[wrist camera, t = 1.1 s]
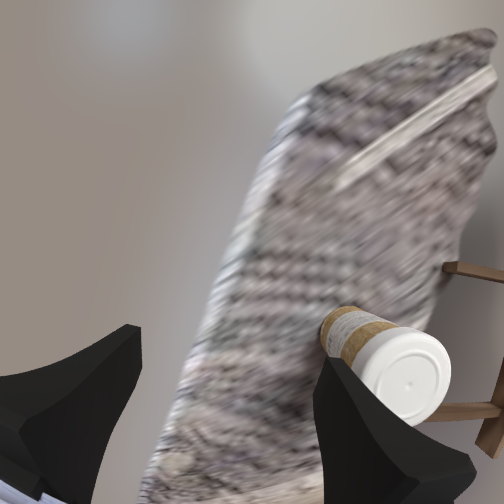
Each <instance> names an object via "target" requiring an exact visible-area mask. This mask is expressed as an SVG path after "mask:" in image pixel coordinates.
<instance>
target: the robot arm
mask: <svg viewBox="0 0 504 504" xmlns="http://www.w3.org/2000/svg"><path fill="white" fill-rule="evenodd" d="M141 370H142V349H141V327H138V326H133V325H129V324H126V325H124V326H122V327H120V328H119V329H117V330H116V331H114V332H112V333H111V334H109V335H107V336H106V337H104V338H103V339H101V340H99V341H98V342H96V343H94V344H93V345H91V346H89V347H87V348H85V349H83V350H81V351H79V352H78V353H76V354H74V355H72V356H70V357H68V358H65V359H63V360H61V361H58V362H56V363H53V364H51V365H48V366H45V367H42V368H38V369H35V370H31V371H28V372H24V373H19V374H14V375H8V376H1V377H0V504H91V500H92V495H93V491H94V487H95V483H96V479H97V475H98V472H99V468H100V465H101V462H102V459H103V455H104V452H105V450H106V447H107V444H108V441H109V438H110V436H111V433H112V431H113V429H114V427H115V425H116V423H117V421H118V419H119V417H120V415H121V414H122V412H123V410H124V408H125V406H126V404H127V402H128V400H129V398H130V396H131V394H132V392H133V390H134V389H135V386H136V383H137V381H138V378H139V375H140V372H141ZM313 410H314V420H315V425H316V431H317V436H318V441H319V447H320V452H321V458H322V464H323V477H324V504H454V502H453V501H454V500H455V499H456V498H457V497H458V496H459V495H460V494H461V493H463V491H465V490H466V489H467V488H468V487H469V486H470V485H471V483H472V482H473V481H474V479H475V477H476V474H477V471H476V469H475V467H474V465H473V463H472V461H471V459H470V457H469V455H468V454H465V453H463V452H460V451H458V450H455V449H452V448H450V447H447V446H445V445H443V444H441V443H439V442H437V441H435V440H433V439H431V438H429V437H428V436H426V435H424V434H422V433H420V432H419V431H418V430H416V429H415V428H413V427H412V426H410V425H409V424H407V423H406V422H405V421H403V420H402V419H401V418H399V417H398V416H397V415H396V414H394V413H393V412H392V411H391V410H390V409H389V408H387V407H386V406H385V405H384V404H383V403H382V402H381V401H380V400H379V399H378V398H377V397H376V396H375V395H374V394H373V393H372V392H371V391H370V390H369V389H368V388H367V386H366V385H365V384H364V383H363V382H362V381H361V380H360V379H359V377H358V376H357V375H356V374H355V373H354V372H353V370H352V369H351V368H350V367H349V366H348V365H347V364H346V362H345V361H344V360H343V359H342V358H336V357H326V360H325V363H324V365H323V368H322V371H321V374H320V377H319V379H318V382H317V385H316V387H315V390H314V393H313Z"/></svg>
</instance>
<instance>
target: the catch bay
mask: <svg viewBox="0 0 504 504" xmlns="http://www.w3.org/2000/svg"><path fill="white" fill-rule="evenodd" d="M443 272H448V273H453V274H458V275H464V276H469V277H474V278H479V279H484V280H489V281H494V282H500V283H504V271H501V270H496V269H492V268H487V267H483V266H478V265H473V264H469V263H464V262H459V261H455V262H444V266H443ZM483 418H485V419H484V422H483V424H482V427H481V429H480V432H479V434H478V437H477V439H476V441H475V444H476V445H477V446H478V447H479V448H480V449H481V450H483V451H484V452H485V453H486V454H487V455H489V456H490V457H491V458H492V459H495V458H498V456H499V454H500V452H501V450H502V448H503V446H504V358H503V362H502V366H501V370H500V373H499V377H498V380H497V383H496V387H495V390H494V393H493V396H492V399H491V402H476V403H446V404H445V403H443V404H440V405H439V406H438V408H437V409H436V410H435V411H434V412H433V413H432V414H431V415H430V416H429V417H428V418H427V419H425V420H424V421H422V422H436V421H458V420H472V419H483Z"/></svg>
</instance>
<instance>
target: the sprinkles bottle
mask: <svg viewBox="0 0 504 504" xmlns="http://www.w3.org/2000/svg"><path fill="white" fill-rule="evenodd" d="M320 337H321V338H320V339H321V344H322V346H323V348H324V350H325V351H326V352H327V353H328V355H329V357H336V358H342V359H343V360H344V361H345V362H346V364H347V365H348V366H349V367H350V368H351V369H352V370H353V372H354V373H355V374H356V375H357V376H358V377H359V379H360V380H361V381H362V382H363V383H364V384H365V385H366V386H367V388H368V389H369V390H370V391H371V392H372V393H373V394H374V395H375V396H376V397H377V398H378V399H379V400H380V401H381V402H382V403H383V404H384V405H385V406H386V407H387V408H389V409H390V410H391V411H392V412H393V413H394V414H396V415H397V416H398V417H399V418H401V419H402V420H403V421H405V422H406V423H407V424H409V425H410V426H412V427H413V426H415V425H417V424H419V423H421V422H422V421H424V420H425V419H427V418H428V417H429V416H430V415H431V414H432V413H433V412H434V411H435V410H436V409H437V408H438V406H439V405H440V404H441V402H442V400H443V399H444V397H445V395H446V393H447V390H448V387H449V383H450V377H451V365H450V360H449V357H448V354H447V352H446V350H445V348H444V347H443V346H442V344H441V343H440V342H439V341H438V340H436V339H435V338H433V337H431V336H429V335H428V334H426V333H423V332H421V331H418V330H416V329H413V328H408V327H399V326H398V325H396V324H394V323H392V322H389V321H387V320H385V319H382V318H380V317H378V316H375V315H373V314H370V313H367V312H365V311H363V310H362V309H359V308H357V307H354V306H344V307H340V308H338V309H336V310H334V311H332V312H331V313H330V314H329V315H328V316H327V317H326V319H325V320H324V322H323V324H322V327H321V333H320Z"/></svg>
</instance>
